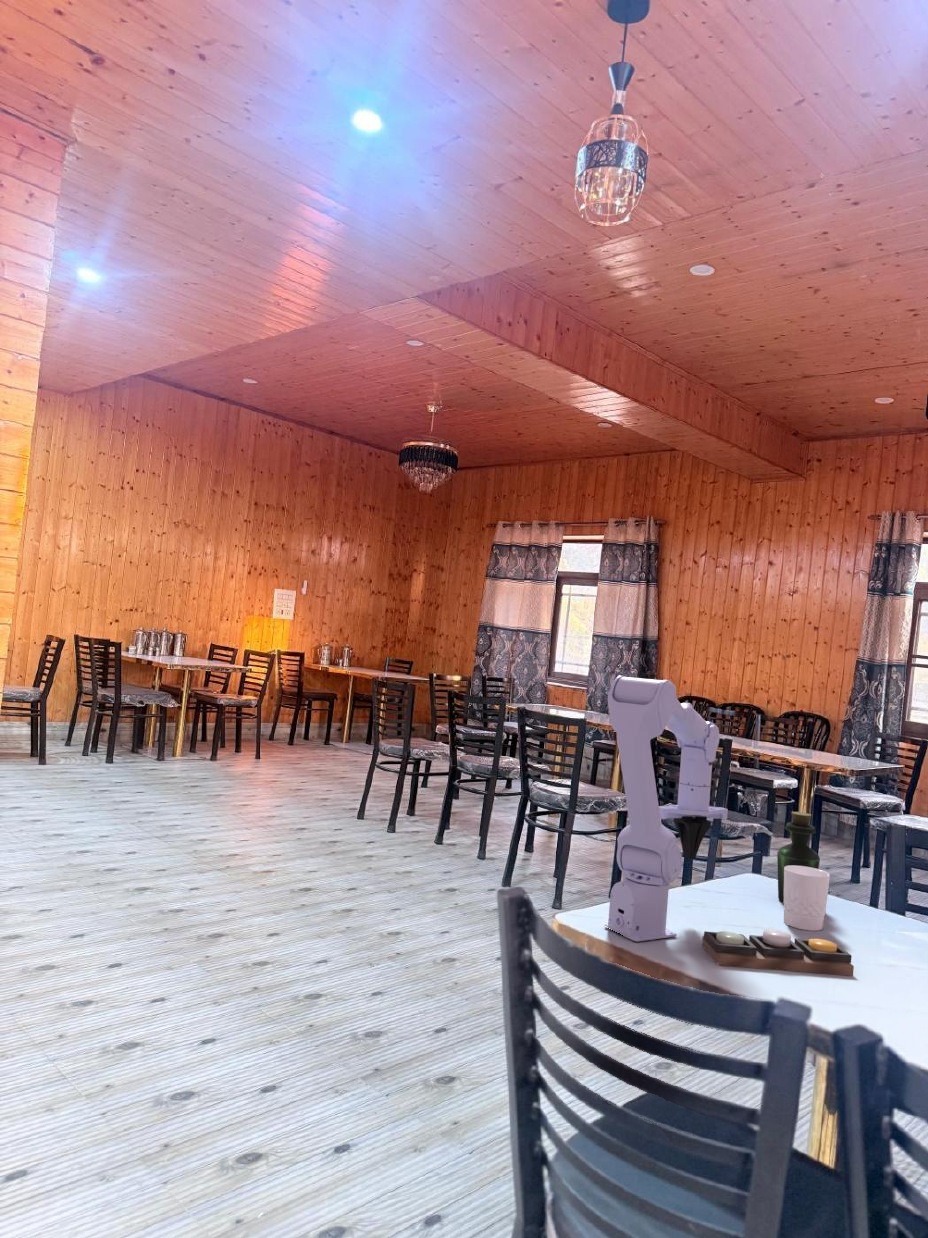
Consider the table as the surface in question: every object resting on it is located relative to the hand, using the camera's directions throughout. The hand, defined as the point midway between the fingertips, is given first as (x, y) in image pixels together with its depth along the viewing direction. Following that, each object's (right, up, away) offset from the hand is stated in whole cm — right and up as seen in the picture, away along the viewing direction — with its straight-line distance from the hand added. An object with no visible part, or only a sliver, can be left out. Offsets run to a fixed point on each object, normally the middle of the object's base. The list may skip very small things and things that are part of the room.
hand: (689, 857), depth 160 cm
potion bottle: (+25, -13, +14) cm, 32 cm away
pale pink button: (+8, -7, -22) cm, 25 cm away
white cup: (+21, -12, -1) cm, 24 cm away
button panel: (+8, -10, -23) cm, 26 cm away
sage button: (+1, -8, -23) cm, 24 cm away
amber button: (+15, -9, -22) cm, 29 cm away
